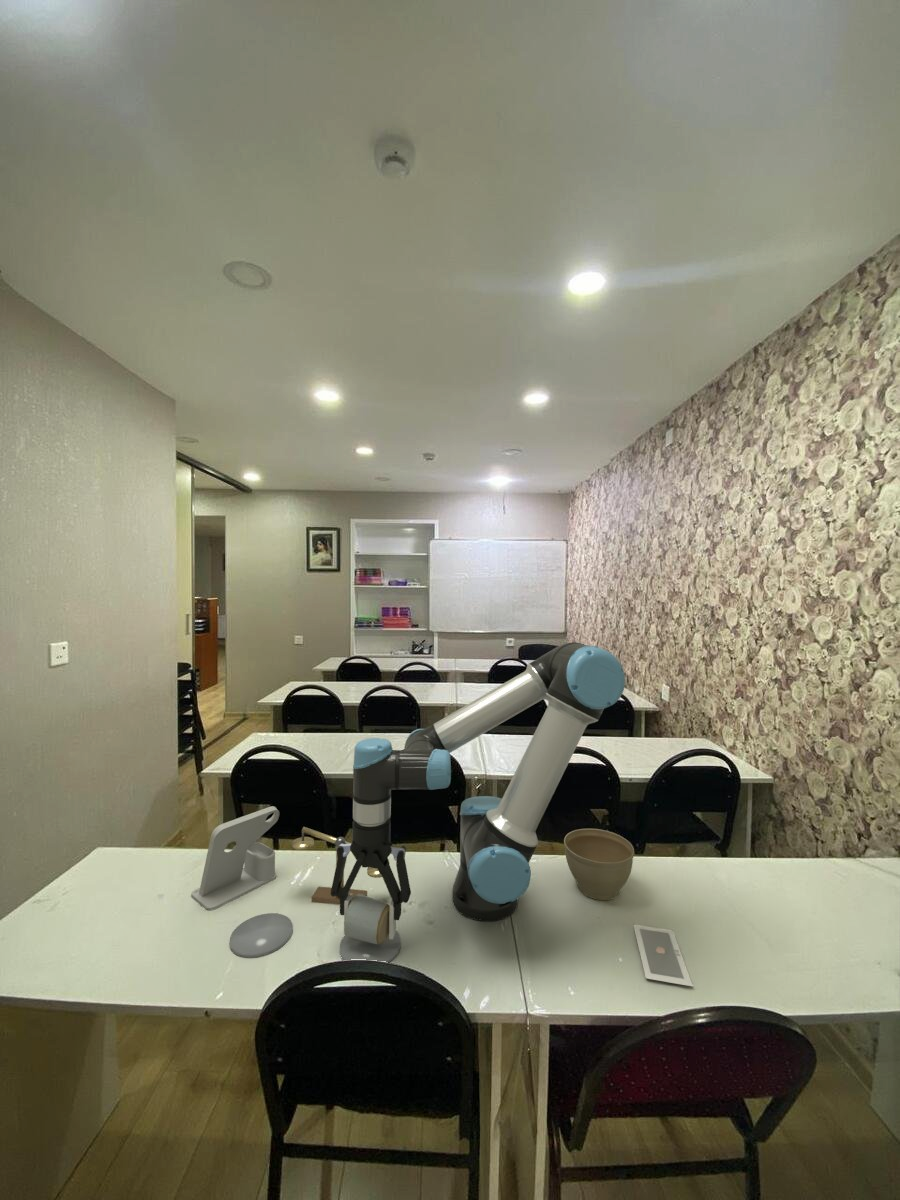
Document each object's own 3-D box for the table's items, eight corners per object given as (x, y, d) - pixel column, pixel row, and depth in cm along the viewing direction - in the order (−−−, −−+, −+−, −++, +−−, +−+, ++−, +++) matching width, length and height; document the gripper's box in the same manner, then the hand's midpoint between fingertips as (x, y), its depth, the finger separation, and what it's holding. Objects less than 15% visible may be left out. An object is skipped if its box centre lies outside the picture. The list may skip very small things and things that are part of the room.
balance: (391, 896, 111) (391, 827, 111) (385, 910, 106) (386, 838, 106) (296, 888, 113) (297, 821, 114) (287, 901, 108) (288, 831, 109)
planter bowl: (556, 871, 122) (556, 828, 122) (617, 870, 123) (617, 828, 123) (575, 911, 106) (575, 862, 106) (645, 910, 106) (646, 861, 107)
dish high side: (302, 919, 102) (302, 915, 102) (275, 960, 90) (275, 956, 90) (250, 914, 104) (250, 910, 104) (216, 954, 92) (216, 950, 92)
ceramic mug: (379, 954, 89) (380, 914, 90) (342, 945, 92) (343, 906, 92) (400, 921, 99) (401, 885, 99) (367, 913, 101) (368, 878, 102)
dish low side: (406, 929, 100) (406, 925, 100) (392, 973, 88) (392, 968, 88) (351, 924, 101) (351, 920, 101) (330, 966, 89) (330, 962, 89)
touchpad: (645, 984, 86) (646, 972, 86) (633, 929, 101) (633, 919, 101) (692, 992, 84) (692, 980, 84) (672, 935, 99) (672, 925, 99)
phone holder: (258, 863, 124) (259, 795, 124) (280, 877, 118) (281, 805, 118) (189, 895, 111) (190, 818, 111) (209, 913, 104) (210, 831, 105)
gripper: (427, 813, 97) (425, 924, 97) (327, 807, 100) (326, 915, 99) (420, 831, 90) (419, 951, 89) (313, 823, 92) (311, 940, 92)
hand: (370, 932), depth 94 cm, fingers closed on ceramic mug, 8 cm apart
